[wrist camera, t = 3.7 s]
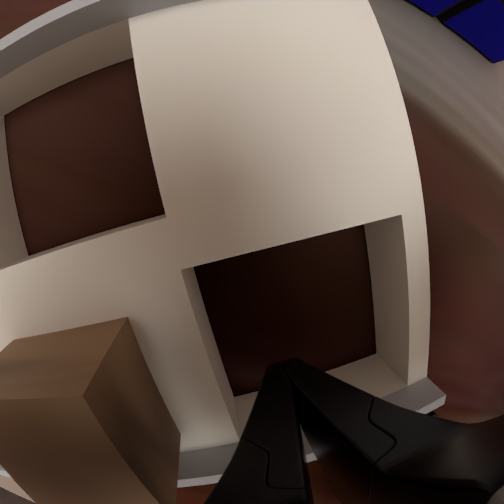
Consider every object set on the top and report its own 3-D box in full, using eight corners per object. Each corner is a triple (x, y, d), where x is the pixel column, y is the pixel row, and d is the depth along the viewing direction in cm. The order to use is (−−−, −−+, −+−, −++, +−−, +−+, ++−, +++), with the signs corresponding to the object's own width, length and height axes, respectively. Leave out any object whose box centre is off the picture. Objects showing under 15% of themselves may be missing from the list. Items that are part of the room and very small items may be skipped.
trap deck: (393, 354, 14) (457, 417, 8) (-19, 422, 12) (-54, 470, 7) (332, 18, 10) (392, -51, 5) (-101, 189, 8) (-158, 198, 3)
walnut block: (180, 434, 10) (176, 521, 6) (72, 442, 9) (44, 510, 6) (127, 316, 9) (82, 395, 5) (13, 339, 8) (-47, 397, 4)
